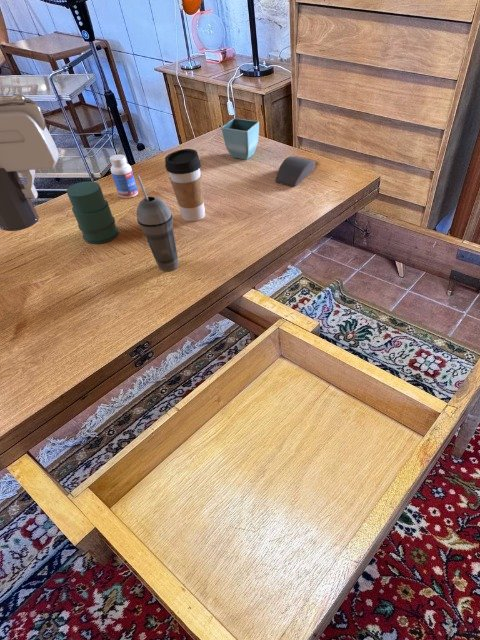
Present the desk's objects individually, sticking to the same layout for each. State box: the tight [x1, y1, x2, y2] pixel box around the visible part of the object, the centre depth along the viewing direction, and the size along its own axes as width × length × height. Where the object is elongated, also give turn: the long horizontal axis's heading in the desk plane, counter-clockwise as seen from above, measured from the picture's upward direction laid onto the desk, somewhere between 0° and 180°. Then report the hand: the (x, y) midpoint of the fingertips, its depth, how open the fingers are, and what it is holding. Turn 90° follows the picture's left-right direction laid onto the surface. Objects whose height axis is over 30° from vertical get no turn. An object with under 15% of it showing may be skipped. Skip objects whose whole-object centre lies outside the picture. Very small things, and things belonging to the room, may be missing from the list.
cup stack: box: [66, 180, 120, 245], centre depth 106 cm, size 9×9×12 cm
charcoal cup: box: [0, 168, 40, 232], centre depth 69 cm, size 6×6×9 cm
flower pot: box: [220, 117, 260, 161], centre depth 135 cm, size 9×9×9 cm
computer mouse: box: [274, 156, 316, 188], centre depth 128 cm, size 8×14×4 cm, turn 151°
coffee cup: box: [164, 148, 206, 222], centre depth 109 cm, size 8×8×15 cm
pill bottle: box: [109, 154, 139, 199], centre depth 120 cm, size 6×5×10 cm
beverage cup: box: [136, 174, 179, 272], centre depth 93 cm, size 7×7×20 cm
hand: (7, 199), depth 70 cm, fingers closed on charcoal cup, 6 cm apart
